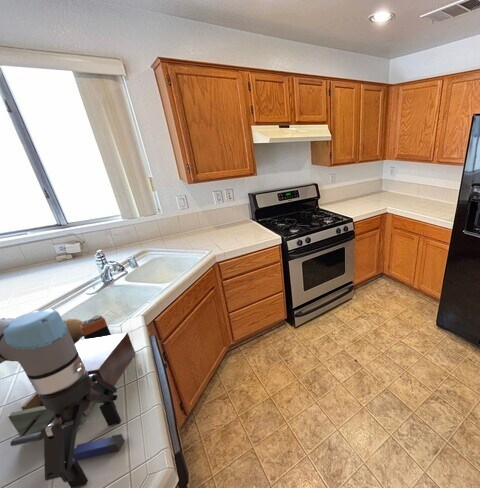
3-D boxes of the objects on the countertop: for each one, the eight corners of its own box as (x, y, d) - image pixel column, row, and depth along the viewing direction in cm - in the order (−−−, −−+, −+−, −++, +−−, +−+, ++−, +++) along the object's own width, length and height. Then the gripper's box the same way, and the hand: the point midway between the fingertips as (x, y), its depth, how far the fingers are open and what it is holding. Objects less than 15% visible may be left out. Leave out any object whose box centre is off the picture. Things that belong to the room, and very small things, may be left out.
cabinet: (109, 393, 76) (98, 369, 73) (51, 405, 74) (37, 380, 71) (135, 353, 92) (127, 332, 89) (88, 362, 89) (78, 340, 86)
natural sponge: (90, 331, 106) (81, 310, 103) (92, 341, 100) (83, 319, 97) (60, 342, 100) (49, 321, 97) (60, 354, 94) (49, 331, 91)
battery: (112, 338, 101) (103, 316, 98) (90, 348, 96) (80, 325, 93) (108, 334, 103) (100, 312, 100) (86, 344, 98) (76, 322, 95)
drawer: (67, 448, 61) (54, 426, 59) (-1, 463, 59) (-17, 441, 57) (115, 377, 81) (107, 358, 79) (66, 386, 79) (56, 367, 76)
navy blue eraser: (74, 461, 59) (70, 454, 59) (81, 450, 62) (77, 443, 61) (119, 450, 61) (116, 443, 60) (124, 440, 63) (121, 433, 62)
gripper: (34, 435, 43) (82, 512, 50) (115, 338, 66) (140, 400, 73) (-21, 447, 42) (36, 525, 49) (81, 344, 65) (110, 407, 72)
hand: (99, 450), depth 61 cm, fingers open, 13 cm apart
